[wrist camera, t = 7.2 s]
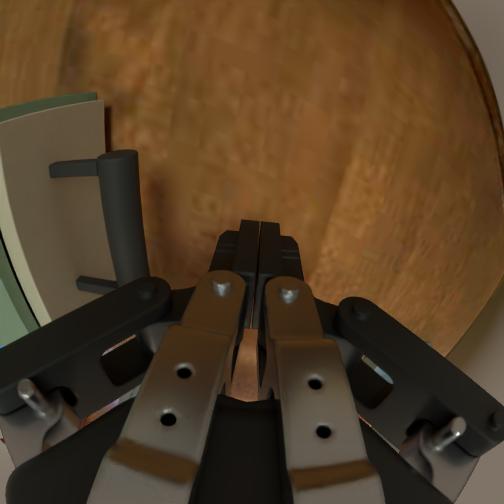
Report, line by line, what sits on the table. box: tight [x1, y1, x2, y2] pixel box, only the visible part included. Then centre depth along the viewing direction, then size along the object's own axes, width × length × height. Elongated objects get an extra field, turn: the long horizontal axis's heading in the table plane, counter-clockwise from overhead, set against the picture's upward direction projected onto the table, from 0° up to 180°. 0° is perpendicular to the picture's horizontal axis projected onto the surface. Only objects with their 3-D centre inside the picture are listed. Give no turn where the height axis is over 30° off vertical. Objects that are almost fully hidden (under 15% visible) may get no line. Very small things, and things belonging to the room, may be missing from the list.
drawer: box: [0, 100, 150, 328], centre depth 11 cm, size 18×11×8 cm, turn 85°
